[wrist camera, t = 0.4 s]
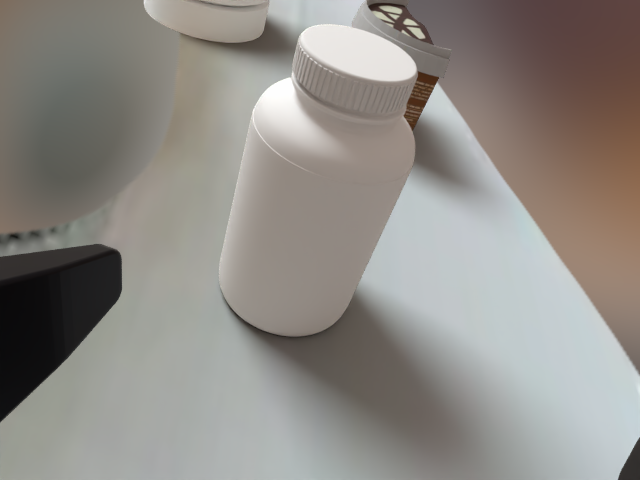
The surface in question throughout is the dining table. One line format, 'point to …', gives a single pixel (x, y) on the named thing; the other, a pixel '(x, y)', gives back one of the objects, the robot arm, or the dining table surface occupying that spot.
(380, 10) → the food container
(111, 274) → the robot arm
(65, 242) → the dining table surface
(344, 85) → the pill bottle
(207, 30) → the honey pot
